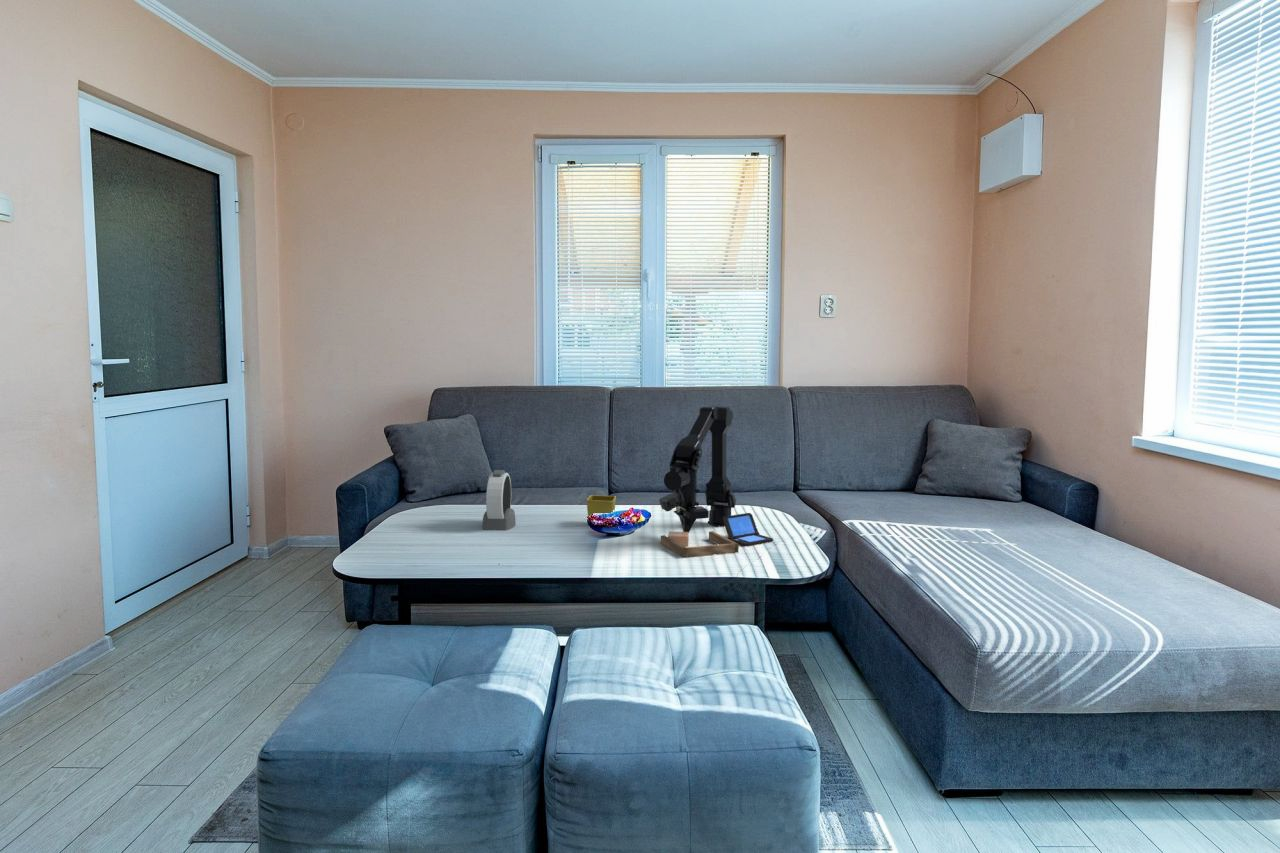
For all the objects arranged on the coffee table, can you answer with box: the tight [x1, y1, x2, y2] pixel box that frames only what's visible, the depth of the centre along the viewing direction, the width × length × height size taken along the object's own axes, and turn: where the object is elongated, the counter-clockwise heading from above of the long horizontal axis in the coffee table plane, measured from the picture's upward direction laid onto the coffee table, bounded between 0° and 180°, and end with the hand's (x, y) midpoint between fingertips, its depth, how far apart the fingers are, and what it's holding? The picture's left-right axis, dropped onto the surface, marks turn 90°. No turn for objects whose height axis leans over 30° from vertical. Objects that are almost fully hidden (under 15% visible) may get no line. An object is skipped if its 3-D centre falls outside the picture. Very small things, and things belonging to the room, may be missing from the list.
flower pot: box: [586, 494, 617, 518], centre depth 257 cm, size 9×9×9 cm
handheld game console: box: [723, 512, 774, 547], centre depth 240 cm, size 12×11×7 cm
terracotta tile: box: [667, 530, 690, 548], centre depth 235 cm, size 6×6×3 cm
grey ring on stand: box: [482, 469, 516, 531], centre depth 253 cm, size 16×10×18 cm, turn 179°
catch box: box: [660, 530, 740, 559], centre depth 230 cm, size 17×16×2 cm
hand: (686, 535), depth 238 cm, fingers closed
